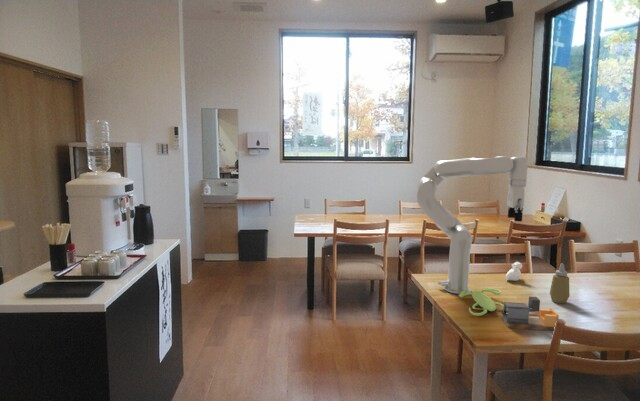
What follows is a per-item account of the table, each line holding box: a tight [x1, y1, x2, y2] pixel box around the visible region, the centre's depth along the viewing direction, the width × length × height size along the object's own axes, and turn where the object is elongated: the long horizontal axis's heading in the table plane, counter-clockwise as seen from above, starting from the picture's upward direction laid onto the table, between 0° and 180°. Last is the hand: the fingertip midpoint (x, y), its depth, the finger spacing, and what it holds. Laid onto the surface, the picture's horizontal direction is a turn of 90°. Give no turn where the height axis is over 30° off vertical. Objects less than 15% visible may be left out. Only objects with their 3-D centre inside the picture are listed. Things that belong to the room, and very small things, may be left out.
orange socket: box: [538, 307, 560, 327], centre depth 167 cm, size 4×7×5 cm, turn 172°
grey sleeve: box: [502, 301, 530, 324], centre depth 168 cm, size 8×5×7 cm, turn 82°
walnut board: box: [501, 315, 555, 332], centre depth 168 cm, size 19×9×1 cm, turn 82°
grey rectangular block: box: [506, 295, 541, 318], centre depth 168 cm, size 12×4×7 cm, turn 82°
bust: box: [505, 261, 523, 282], centre depth 224 cm, size 12×8×11 cm
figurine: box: [457, 287, 504, 317], centre depth 188 cm, size 18×27×6 cm
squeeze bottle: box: [549, 262, 570, 304], centre depth 193 cm, size 8×8×18 cm
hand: (514, 219), depth 199 cm, fingers open, 9 cm apart
